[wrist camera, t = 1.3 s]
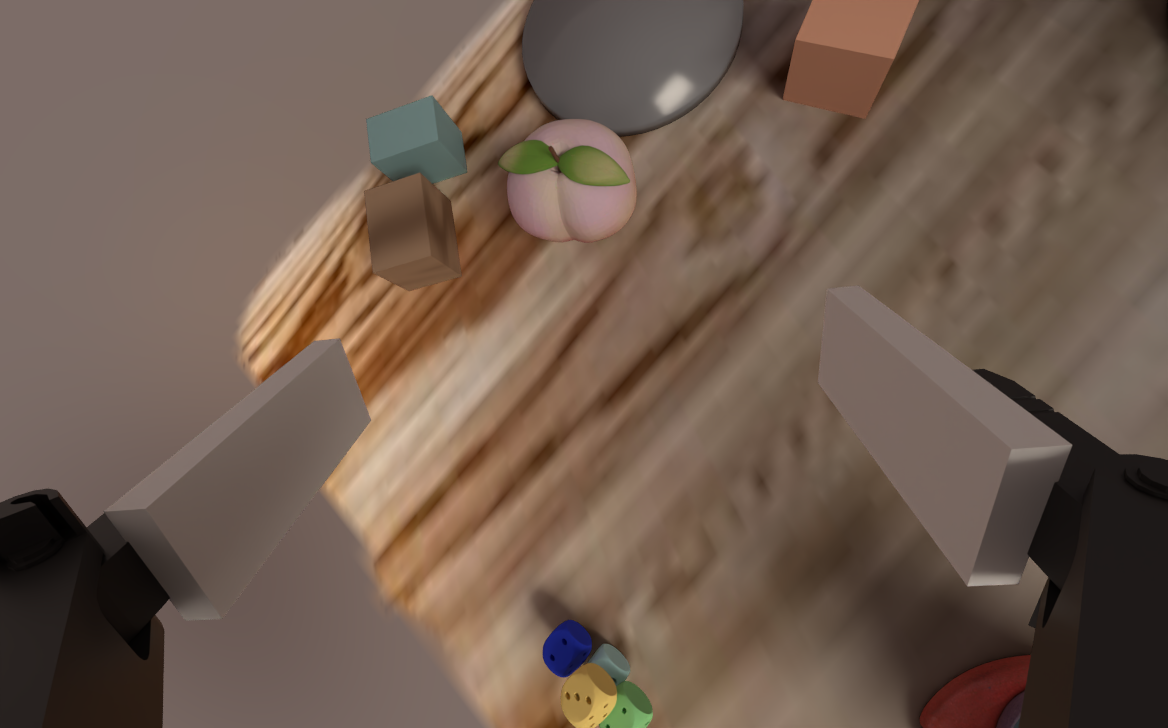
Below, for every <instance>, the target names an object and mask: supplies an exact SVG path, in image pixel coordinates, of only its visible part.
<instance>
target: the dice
mask: <svg viewBox="0 0 1168 728" xmlns="http://www.w3.org/2000/svg"><path fill="white" fill-rule="evenodd" d="M591 649H592V640H591V637H590V635H589V633H588V632H587V631H586V630H585V628H584V627H583V626H581V625H580V624H579V623H577V622H576V621H573V620H567V621H565V622H563V623H562V624H560V625H559V626H558V627H557V628H556V629H555V630H554V631H553V632H552V633H551V634H550V635H549V637H548V638H547V640H546V641H545V643H544V646H543V659H544V662H545V664H546V665H547V667H548V668H549V669H550V670H551V671H552V672H553V673H554V674H556V675H557V676H559V677H568V676H569V675H570V677H569V678H568V679H567V680H566V682H565V683H564V685H563V687H562V691H561V707H562V710H563V712H564V714H565V716H566V718H567V719H568V720H569V721H570V723H571V724H573V725H574V726H575V727H576V728H595V727H596V726H597V725H599V727H600V728H646V727H647V726H648V724H649V723H650V721H651V719H652V716H653V712H652V706H651V703H650V701H649V699H648V698H647V696H646V695H645V694H644V692H643V691H642V690H641V689H640V688H639V687H638V686H636V685H635V684H633V683H632V682H629V681H625V680H626V678H627V677H628V675H629V673H630V665H629V663H628V661H627V660H626V658H625V657H624V656H623V655H622V653H621V652H620V651H619V650H617V649H616V648H615V647H613V646H612V645H610V644H602V645H601V646H600V647H599V648H598V650H597V651H596V652H595V653H594V655H593V656H592V657H591V659H590V660H589V662H588V663H587V664H585V665H583V666H581V665H582V663H583V662H584V661H585V660H586V658H587V657H588V656H589V654H590V652H591ZM580 666H581V667H580ZM579 667H580V668H579Z"/></svg>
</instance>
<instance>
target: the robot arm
mask: <svg viewBox="0 0 1168 728" xmlns="http://www.w3.org/2000/svg"><path fill="white" fill-rule="evenodd" d="M818 384H819V385H820V386H821V388H822V389H823V390H824V392H825V393H826V394H827V396H828V397H829V399H830V400H831V401H832V403H833V404H834V405H835V407H836V408H837V409H838V411H839V412H840V414H841V415H842V416H843V418H844V419H845V420H846V422H847V423H848V424H849V426H850V427H851V428H852V430H853V431H854V433H855V434H856V435H857V437H858V438H859V439H860V441H861V442H862V443H863V445H864V446H865V448H866V449H867V450H868V452H869V453H870V454H871V456H872V457H873V458H874V460H875V461H876V463H877V464H878V465H879V467H880V468H881V469H882V471H883V472H884V473H885V475H886V476H887V478H888V479H889V480H890V482H891V483H892V484H893V486H894V487H895V488H896V490H897V491H898V492H899V494H900V495H901V497H902V498H903V499H904V501H905V502H906V503H907V505H908V506H909V507H910V509H911V510H912V512H913V513H914V514H915V516H916V517H917V518H918V520H919V521H920V522H921V524H922V525H923V527H924V528H925V529H926V531H927V532H928V533H929V535H930V536H931V537H932V539H933V540H934V542H935V543H936V544H937V546H938V547H939V548H940V550H941V551H942V552H943V554H944V555H945V556H946V558H947V559H948V561H949V562H950V563H951V565H952V566H953V567H954V569H955V570H956V571H957V573H958V574H959V576H960V577H961V578H962V580H963V581H964V582H965V584H966V585H967V586H985V585H1008V584H1019V581H1020V579H1021V576H1022V573H1023V571H1024V568H1025V566H1026V563H1027V561H1028V558H1029V557H1030V558H1031V559H1032V560H1033V561H1034V562H1035V563H1036V564H1037V565H1038V566H1039V567H1040V568H1041V570H1042V571H1043V572H1044V573H1045V574H1046V575H1047V576H1048V580H1047V582H1046V584H1045V587H1044V589H1043V591H1042V594H1041V596H1040V598H1039V601H1038V603H1037V606H1036V608H1035V610H1034V613H1033V615H1032V617H1031V620H1030V622H1029V624H1028V625H1029V626H1031V627H1034V628H1036V629H1035V635H1034V641H1033V647H1032V652H1031V658H1030V664H1029V669H1028V675H1027V681H1026V687H1025V692H1024V698H1023V704H1022V709H1021V715H1020V721H1019V727H1018V728H1168V460H1165V459H1161V458H1155V457H1149V456H1143V455H1137V454H1126V455H1120V454H1118V453H1117V452H1115V451H1114V450H1112V449H1111V448H1109V447H1108V446H1107V445H1105V444H1104V443H1102V442H1101V441H1099V440H1098V439H1097V438H1095V437H1094V436H1092V435H1091V434H1089V433H1088V432H1086V431H1085V430H1084V429H1082V428H1081V427H1079V426H1078V425H1076V424H1075V423H1073V422H1072V421H1071V420H1069V419H1068V418H1066V417H1065V416H1063V415H1062V414H1061V413H1059V412H1054V409H1053V408H1052V407H1050V406H1049V405H1048V404H1046V403H1045V402H1043V401H1042V400H1040V399H1036V398H1035V395H1033V394H1032V393H1030V392H1029V391H1027V390H1026V389H1025V388H1023V387H1022V386H1020V385H1019V384H1017V383H1016V382H1015V381H1013V380H1010V379H1008V378H1005V377H1003V376H1000V375H998V374H995V373H993V372H990V371H988V370H985V369H977V370H971V369H970V368H969V367H967V366H966V365H965V364H963V363H962V362H961V361H959V360H958V359H956V358H955V357H954V356H952V355H951V354H950V353H948V352H947V351H946V350H944V349H943V348H942V347H940V346H939V345H938V344H936V343H935V342H934V341H932V340H931V339H930V338H928V337H927V336H926V335H924V334H923V333H922V332H920V331H919V330H918V329H916V328H915V327H914V326H912V325H911V324H910V323H908V322H907V321H906V320H904V319H903V318H901V317H900V316H899V315H897V314H896V313H895V312H893V311H892V310H891V309H889V308H888V307H887V306H885V305H884V304H883V303H881V302H880V301H879V300H877V299H876V298H875V297H873V296H872V295H871V294H869V293H868V292H867V291H865V290H864V289H863V288H861V287H860V286H849V287H839V288H829V289H827V294H826V305H825V315H824V325H823V335H822V346H821V356H820V366H819V376H818ZM370 421H371V418H370V416H369V413H368V411H367V408H366V405H365V403H364V400H363V398H362V395H361V392H360V390H359V387H358V385H357V382H356V379H355V377H354V374H353V372H352V369H351V366H350V364H349V361H348V359H347V356H346V353H345V351H344V348H343V346H342V343H341V340H340V339H330V340H320V341H314V342H312V343H311V344H310V345H309V346H307V347H306V348H305V349H304V350H303V351H301V352H300V353H299V354H298V355H296V356H295V357H294V358H293V359H291V360H290V361H289V362H288V363H286V364H285V365H284V366H283V367H282V368H280V369H279V370H278V371H277V372H275V373H274V374H273V375H272V376H270V377H269V378H268V379H267V380H265V381H264V382H263V383H262V384H261V385H259V386H258V387H257V388H256V389H254V390H253V391H252V392H251V393H249V394H248V395H247V396H246V397H245V398H243V399H242V400H241V401H240V402H238V403H237V404H236V405H235V406H233V407H232V408H231V409H230V410H228V411H227V412H226V413H225V414H224V415H222V416H221V417H220V418H219V419H217V420H216V421H215V422H214V423H213V424H211V425H210V426H209V427H207V428H206V429H205V430H204V431H203V432H201V433H200V434H199V435H198V436H196V437H195V438H194V439H193V440H191V441H190V442H189V443H188V444H187V445H185V446H184V447H183V448H182V449H181V450H179V451H178V452H177V453H175V454H174V455H173V456H172V457H171V458H169V459H168V460H167V461H166V462H164V463H163V464H162V465H161V466H159V467H158V468H157V469H156V470H154V471H153V472H152V473H151V474H150V475H148V476H147V477H146V478H145V479H143V480H142V481H141V482H140V483H138V484H137V485H136V486H135V487H133V488H132V489H131V490H130V491H128V492H127V493H126V494H125V495H124V496H122V497H121V498H120V499H119V500H117V501H116V502H115V503H114V504H112V505H111V506H110V507H109V508H107V509H106V510H105V511H104V514H103V515H101V516H100V517H99V518H98V519H97V520H95V521H94V522H93V523H92V524H91V525H89V526H88V527H87V528H86V526H85V525H84V524H83V522H82V521H81V520H80V519H79V518H78V516H77V515H76V514H75V513H74V511H73V510H72V508H71V507H70V506H69V505H68V503H67V502H66V501H65V500H64V499H63V497H62V496H61V495H60V493H59V492H58V491H57V490H53V489H43V490H35V491H31V492H28V493H25V494H22V495H18V496H15V497H13V498H10V499H8V500H6V501H3V502H1V503H0V728H162V724H163V721H162V720H163V672H164V628H163V625H162V623H161V622H160V620H159V619H158V618H157V617H156V615H155V614H156V613H157V612H158V611H159V610H160V609H161V608H162V606H163V605H164V604H165V603H166V602H167V601H168V599H170V601H171V602H172V603H173V605H174V606H175V607H176V609H177V610H178V611H179V613H180V614H181V615H182V617H183V618H184V619H185V620H204V619H205V620H206V619H223V617H224V616H225V615H226V613H227V612H228V610H229V609H230V608H231V607H232V605H233V604H234V603H235V601H236V600H237V599H238V597H239V596H240V594H241V593H242V592H243V590H244V589H245V588H246V587H247V585H248V584H249V582H250V581H251V580H252V579H253V577H254V576H255V575H256V573H257V572H258V571H259V569H260V568H261V567H262V565H263V564H264V563H265V561H266V560H267V559H268V557H269V556H270V555H271V553H272V552H273V551H274V549H275V548H276V547H277V545H278V544H279V543H280V541H281V540H282V539H283V537H284V536H285V535H286V533H287V532H288V531H289V529H290V528H291V527H292V525H293V524H294V523H295V521H296V520H297V519H298V517H299V516H300V515H301V513H302V512H303V511H304V509H305V508H306V507H307V505H308V504H309V503H310V501H311V500H312V499H313V497H314V496H315V495H316V493H317V492H318V491H319V489H320V488H321V487H322V485H323V484H324V483H325V481H326V480H327V479H328V477H329V476H330V475H331V473H332V472H333V471H334V469H335V468H336V467H337V465H338V464H339V463H340V461H341V460H342V459H343V457H344V456H345V455H346V453H347V452H348V451H349V449H350V448H351V447H352V445H353V444H354V443H355V441H356V440H357V439H358V437H359V436H360V435H361V433H362V432H363V431H364V429H365V428H366V427H367V425H368V424H369V423H370Z"/></svg>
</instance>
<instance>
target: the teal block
mask: <svg viewBox="0 0 1168 728" xmlns="http://www.w3.org/2000/svg"><path fill="white" fill-rule="evenodd" d="M366 122H367V131H368V140H369V149H370V159H371V163H372V164H373V165H374V166H375V167H377V168H378V169H379V170H380V171H381V172H383V173H384V174H385V175H386V176H387V177H389V178H390V179H391V180H392V181H396V180H399V179H402V178H405V177H408V176H411V175H414V174H417V173H421V174H422V175H423V176H424V177H425V178H426V179H428V180H429V181H430V182H431V183H432V184H433V183H436V182H439V181H442V180H446V179H449V178H452V177H455V176H458V175H461V174H464V173H467V166H466V159H465V153H464V146H463V139H462V133H461V131H460V130H459V128H458V127H457V126H456V125H455V123H454V122H453V121H452V120H451V118H450V117H449V116H448V115H447V113H446V112H445V111H444V110H443V108H442V107H441V106H440V105H439V103H438V102H437V101H436V100H435V98H434V97H433V96H429V97H426V98H423V99H421V100H418V101H415V102H412V103H410V104H407V105H404V106H401V107H399V108H396V109H393V110H390V111H387V112H385V113H382V114H380V115H376V116H374V117H371V118H368V119H366Z"/></svg>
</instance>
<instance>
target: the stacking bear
mask: <svg viewBox="0 0 1168 728" xmlns="http://www.w3.org/2000/svg"><path fill="white" fill-rule="evenodd" d="M1030 658H1031V655H1025V656H1015V657H1009V658H1004V659H999V660H995V661H992V662H989V663H985V664H983V665H980V666H977V667H975V668H973V669H970V670H968V671H966V672H964V673H963V674H961V675H959V676H958V677H956V678H954V679H953V680H952V681H950V682H949V683H948V684H946V685H945V686H944V687H943V688H942V689H940V690H939V691H938V692H937V693H936V694H935V695H934V696H933V697H932V699H931V700H930V701H929V702H928V703H927V705H926V706H925V708H924V709H923V711H922V713H921V716H920V724H921V726H922V727H923V728H1018V727H1019V721H1020V715H1021V709H1022V704H1023V698H1024V692H1025V687H1026V681H1027V675H1028V669H1029V664H1030Z"/></svg>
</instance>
